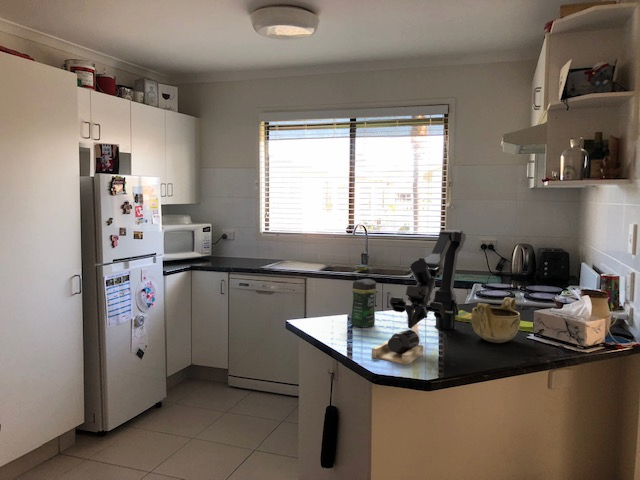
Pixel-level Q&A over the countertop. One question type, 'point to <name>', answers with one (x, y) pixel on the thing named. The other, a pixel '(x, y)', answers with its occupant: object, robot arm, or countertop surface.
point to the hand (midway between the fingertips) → (409, 327)
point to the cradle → (396, 354)
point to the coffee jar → (363, 303)
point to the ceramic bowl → (496, 321)
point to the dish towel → (467, 318)
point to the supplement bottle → (403, 341)
